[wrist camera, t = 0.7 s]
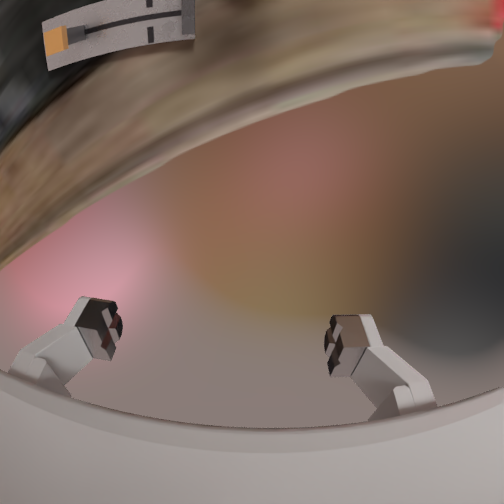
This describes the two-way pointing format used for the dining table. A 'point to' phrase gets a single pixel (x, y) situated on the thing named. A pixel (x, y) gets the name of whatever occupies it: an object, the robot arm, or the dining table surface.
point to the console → (122, 27)
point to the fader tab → (62, 38)
